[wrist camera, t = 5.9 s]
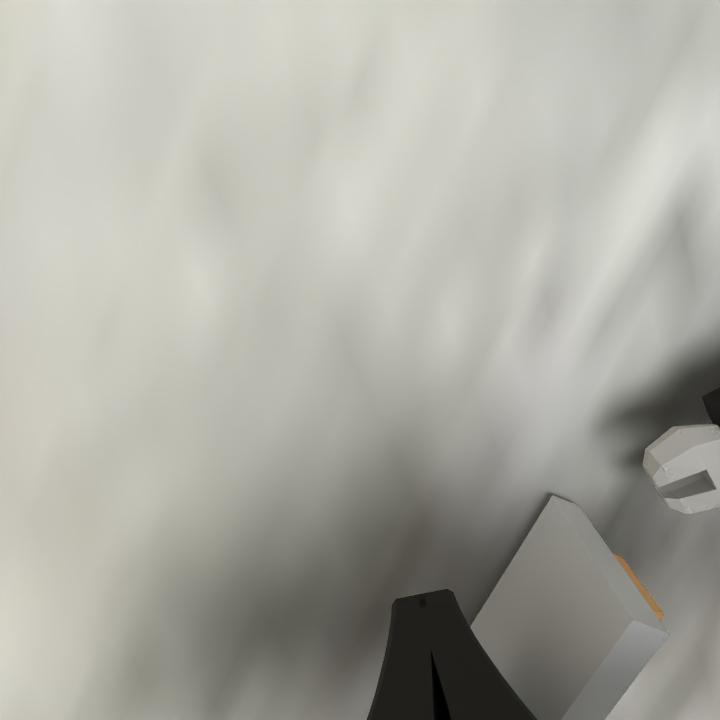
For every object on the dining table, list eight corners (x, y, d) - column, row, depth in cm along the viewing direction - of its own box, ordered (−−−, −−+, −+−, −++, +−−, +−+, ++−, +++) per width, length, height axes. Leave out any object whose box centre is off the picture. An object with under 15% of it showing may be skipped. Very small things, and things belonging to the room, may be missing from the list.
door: (395, 736, 15) (411, 914, 11) (546, 492, 13) (625, 617, 9) (444, 752, 15) (476, 932, 12) (601, 514, 13) (699, 644, 9)
